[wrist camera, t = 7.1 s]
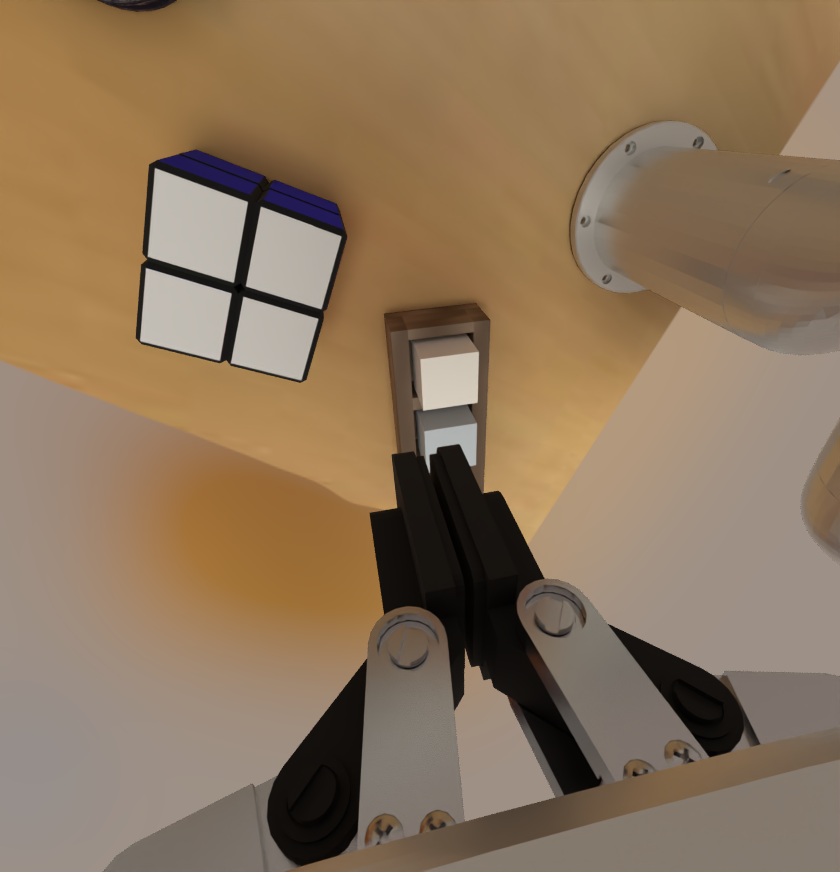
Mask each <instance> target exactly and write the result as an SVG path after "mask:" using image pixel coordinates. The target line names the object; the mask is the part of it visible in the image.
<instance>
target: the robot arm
mask: <svg viewBox="0 0 840 872" xmlns="http://www.w3.org/2000/svg"><path fill="white" fill-rule="evenodd" d="M626 145H627V148H626ZM625 148H626V150H625ZM582 218H583V220H582V222H581V219H582ZM580 222H581V223H580ZM571 245H572V251H573V255H574V257H575V260H576V262H577V265H578V267H579V268H580V269H581V271H582V272H583V274H584V275H585V276H586V277H587V278H588V279H589V280H591V281H592V282H593V283H594V284H596V285H598V286H599V287H601V288H603V289H606V290H609V291H612V292H616V293H634V292H640V291H643V290H646V289H649V290H651V291H652V292H654V293H656V294H658V295H660V296H662V297H664V298H666V299H668V300H670V301H672V302H674V303H676V304H678V305H680V306H682V307H684V308H686V309H688V310H689V311H691V312H694V313H695V314H697V315H699V316H701V317H703V318H705V319H707V320H709V321H711V322H713V323H715V324H717V325H719V326H721V327H723V328H725V329H727V330H728V331H730V332H732V333H734V334H736V335H738V336H740V337H742V338H744V339H746V340H748V341H750V342H752V343H754V344H756V345H758V346H761V347H763V348H766V349H768V350H771V351H776V352H779V353H783V354H793V355H813V354H823V353H830V352H835V351H840V160H829V159H816V158H805V157H793V156H780V155H769V154H757V153H745V152H733V151H721V150H717V147H716V145H715V143H714V142H713V141H712V139H711V138H710V137H709V136H708V134H707V133H705V132H704V131H703V130H701V129H700V128H698V127H697V126H695V125H692V124H689V123H686V122H681V121H659V122H653V123H649V124H646V125H643V126H640V127H638V128H636V129H634V130H632V131H631V132H629V133H627V134H625V135H624V136H622V137H621V138H620V139H619V140H617V141H616V142H615V143H613V144H612V145H611V146H610V147H609V148H608V149H607V150H606V151H605V152H604V153H603V154H602V156H601V157H600V158H599V159H598V160H597V161H596V163H595V164H594V166H593V167H592V169H591V170H590V172H589V173H588V174H587V176H586V178H585V180H584V182H583V184H582V186H581V188H580V190H579V193H578V196H577V199H576V202H575V205H574V208H573V213H572V219H571ZM429 461H430V473H429V470H428V467H427V464H426V461H425V458H424V456H417V457H416V455H415V452H414V451H410V452H404V453H398V454H392V463H393V472H394V481H395V490H396V499H397V508H395V509H390V510H384V511H378V512H372V513H370V519H371V526H372V533H373V540H374V547H375V553H376V561H377V568H378V575H379V582H380V589H381V596H382V602H383V610H384V616H383V617H382V618H381V619H379V620H378V621H377V622H376V624H375V626H374V627H373V629H372V631H371V633H370V638H369V642H368V656H367V659H366V660H365V662H364V663H363V665H362V666H361V667H360V668H359V669H358V671H357V672H356V673H355V675H354V676H353V677H352V678H351V680H350V681H349V682H348V684H347V685H346V686H345V688H344V689H343V690H342V691H341V693H340V694H339V696H338V697H337V698H336V699H335V700H334V702H333V703H332V704H331V706H330V707H329V708H328V710H327V711H326V712H325V713H324V715H323V716H322V717H321V718H320V720H319V721H318V722H317V724H316V725H315V726H314V727H313V729H312V730H311V731H310V733H309V734H308V735H307V737H306V738H305V739H304V740H303V742H302V743H301V744H300V746H299V747H298V748H297V749H296V751H295V752H294V753H293V755H292V756H291V757H290V758H289V760H288V761H287V762H286V764H285V765H284V766H283V768H282V769H281V771H280V773H279V774H278V776H276V777H274V778H272V779H270V780H268V781H266V782H264V783H262V784H260V785H258V786H256V787H254V785H253V784H250V785H248V786H246V787H244V788H242V789H240V790H238V791H236V792H234V793H232V794H230V795H228V796H226V797H225V798H222V799H220V800H219V801H216V802H215V803H213V804H211V805H209V806H207V807H205V808H203V809H201V810H199V811H197V812H195V813H193V814H191V815H189V816H187V817H185V818H183V819H181V820H179V821H177V822H175V823H173V824H171V825H169V826H167V827H165V828H163V829H161V830H159V831H158V832H156V833H153V834H152V835H150V836H148V837H146V838H144V839H142V840H140V841H138V842H136V843H134V844H132V845H131V846H130V847H128V848H127V849H126V850H124V851H123V852H121V853H120V854H118V855H117V856H116V857H115V858H114V859H113V860H112V862H111V863H110V864H109V865H108V866H107V868H106V869H105V870H104V871H103V872H840V676H836V675H831V674H825V673H789V672H788V673H787V672H750V671H724V673H723V675H722V676H721V675H712V674H710V673H708V672H707V671H705V670H703V669H702V668H700V667H697V666H695V665H693V664H691V663H689V662H687V661H685V660H683V659H681V658H679V657H676V656H674V655H672V654H670V653H668V652H666V651H664V650H662V649H660V648H657V647H655V646H653V645H651V644H649V643H647V642H645V641H643V640H641V639H638V638H636V637H634V636H632V635H630V634H628V633H626V632H624V631H622V630H619V629H618V628H615V627H613V626H611V625H609V624H607V623H606V621H605V620H604V619H603V618H602V616H601V615H600V614H599V612H598V611H597V610H596V608H595V607H594V606H593V604H592V603H591V602H590V601H589V599H588V598H587V597H586V596H585V595H584V594H583V593H582V592H581V591H580V590H579V589H577V588H576V587H574V586H572V585H571V584H569V583H566V582H563V581H560V580H557V579H544V577H543V575H542V573H541V571H540V569H539V567H538V565H537V563H536V561H535V559H534V557H533V555H532V553H531V551H530V549H529V547H528V545H527V543H526V541H525V539H524V537H523V535H522V533H521V531H520V529H519V527H518V525H517V523H516V521H515V519H514V517H513V515H512V513H511V511H510V509H509V507H508V505H507V503H506V501H505V499H504V497H503V495H502V494H501V493H500V492H499V491H494V492H488V493H483V494H482V492H481V490H480V488H479V485H478V483H477V481H476V479H475V477H474V474H473V472H472V470H471V468H470V465H469V463H468V461H467V459H466V457H465V454H464V452H463V450H462V448H461V446H460V444H455V445H449V446H442V447H437V453H435V454H430V456H429ZM800 507H801V515H802V519H803V522H804V524H805V526H806V529H807V531H808V533H809V534H810V536H811V537H812V539H813V540H814V541H815V542H816V543H817V545H818V546H819V547H820V548H821V549H822V550H823V551H824V552H825V553H826V554H827V555H828V556H829V557H831V558H832V559H833V560H834V561H836V562H837V563H838V564H840V418H839V420H838V422H837V424H836V425H835V427H834V429H833V431H832V433H831V434H830V436H829V438H828V440H827V441H826V443H825V445H824V447H823V448H822V450H821V452H820V454H819V456H818V458H817V460H816V462H815V463H814V465H813V467H812V469H811V471H810V473H809V475H808V478H807V480H806V482H805V484H804V488H803V491H802V495H801V506H800ZM465 649H466V652H467V656H468V659H469V662H470V665H471V667H475V666H480V670H481V673H482V676H483V680H487V679H491V680H492V683H493V687H494V688H495V689H497V690H499V691H500V692H502V693H504V694H505V695H507V696H508V699H509V702H510V705H511V708H512V710H513V712H514V714H515V716H516V718H517V720H518V722H519V724H520V726H521V728H522V730H523V732H524V734H525V736H526V738H527V740H528V742H529V744H530V746H531V748H532V751H533V753H534V754H535V757H536V759H537V761H538V763H539V765H540V767H541V769H542V771H543V773H544V775H545V777H546V779H547V781H548V783H549V785H550V787H551V789H552V791H553V793H554V795H555V797H556V798H553V799H549V800H546V801H541V802H537V803H534V804H530V805H526V806H522V807H518V808H515V809H511V810H507V811H504V812H499V813H496V814H492V815H488V816H484V817H481V818H477V819H474V820H469V821H466V822H465V820H464V810H463V799H462V788H461V778H460V767H459V757H458V746H457V736H456V726H455V714H454V711H455V709H456V707H457V706H458V704H459V702H460V700H461V699H462V697H463V695H464V668H465Z"/></svg>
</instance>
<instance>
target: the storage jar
mask: <svg viewBox="0 0 840 872" xmlns="http://www.w3.org/2000/svg"><path fill="white" fill-rule="evenodd" d="M98 1H101V2H103V3H105V4H107V5H110V6H113V7H116V8H119V9H123V10H130V11H136V12H139V11H153V10H156V9H160V8H164V7H166V6H168V5H170V4H171V3H173V2H175V1H176V0H98Z"/></svg>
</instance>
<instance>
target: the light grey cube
mask: <svg viewBox="0 0 840 872" xmlns="http://www.w3.org/2000/svg"><path fill="white" fill-rule="evenodd" d="M416 420H417V435H418V448H419V451H420V454H421V456H424V458H425V461H426V464H427V467H428V470H429V473H430V461H429V456H430V454H435V453H437V447H442V446H449V445H455V444H460V446H461V448H462V450H463V452H464V454H465V457H466V459H467V461H468V463H469V465H470V466H474V465H476V445H477V422H476V420H475V419H474V417H473V415H472V413H471V411H470V409H469V407H468V405H467V404H466V405H459V406H452V407H445V408H438V409H431V410H424V411H423V409H419V410H416Z"/></svg>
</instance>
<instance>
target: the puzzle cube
mask: <svg viewBox="0 0 840 872" xmlns="http://www.w3.org/2000/svg"><path fill="white" fill-rule="evenodd" d="M346 240H347V234H346V231H345V227H344V224H343V221H342V217H341V214H340V210H339V208H338V206H337V204H335V203H333V202H330V201H328V200H325V199H323V198H320V197H317V196H315V195H312V194H310V193H307V192H304V191H302V190H299V189H297V188H294V187H291V186H289V185H286V184H284V183H281V182H278V181H276V180H274V181H272V182H270V183H269V182H268V181H267V179H266V177H265V176H263V175H260V174H258V173H255V172H253V171H250V170H247V169H245V168H242V167H240V166H237V165H234V164H232V163H229V162H227V161H224V160H221V159H219V158H216V157H214V156H211V155H209V154H206V153H203V152H201V151H198V150H193V151H189V152H185V153H181V154H179V155H174V156H171V157H167V158H163V159H160V160H157V161H155V162H153V163H151V164H149V173H148V186H147V200H146V213H145V226H144V239H143V252H142V253H143V254H144V256H145V257H146V258H147V260H146V261H145V262H144V263H143V264H141V274H140V287H139V301H138V314H137V327H136V339H137V340H138V341H139V342H140V343H141V344H143V345H147V346H152V347H156V348H160V349H164V350H168V351H172V352H176V353H180V354H184V355H188V356H192V357H197V358H201V359H205V360H209V361H213V362H217V363H221V362H223V361H225V360H227V361H228V363H229V364H230V365H231V366H234V367H238V368H242V369H246V370H250V371H255V372H259V373H263V374H267V375H271V376H275V377H279V378H283V379H287V380H291V381H295V382H300V383H301V382H303V381H305V380H306V379H307V376H308V372H309V369H310V365H311V362H312V358H313V355H314V351H315V348H316V344H317V341H318V337H319V333H320V330H321V326H322V323H323V319H324V315H323V311H324V310H326V309H327V307H328V303H329V300H330V296H331V293H332V289H333V286H334V282H335V279H336V275H337V272H338V268H339V265H340V261H341V257H342V254H343V250H344V247H345V243H346Z"/></svg>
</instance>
